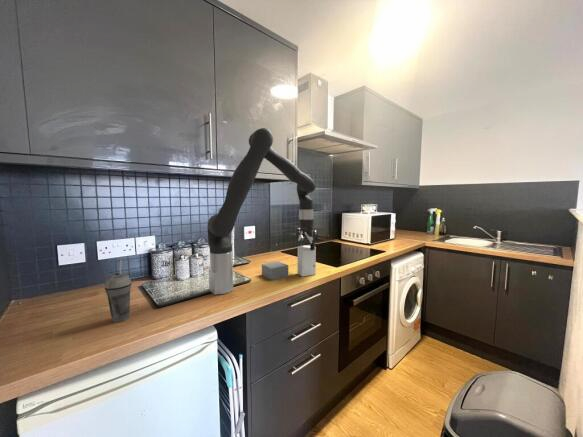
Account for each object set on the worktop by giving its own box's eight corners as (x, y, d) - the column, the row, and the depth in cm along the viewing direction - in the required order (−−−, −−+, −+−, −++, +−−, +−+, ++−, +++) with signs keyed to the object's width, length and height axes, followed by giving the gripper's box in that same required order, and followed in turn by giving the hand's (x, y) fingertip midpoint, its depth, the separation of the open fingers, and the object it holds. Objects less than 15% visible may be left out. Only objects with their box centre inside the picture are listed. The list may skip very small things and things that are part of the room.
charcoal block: (271, 280, 114) (271, 268, 114) (261, 275, 122) (261, 264, 122) (288, 276, 120) (288, 265, 120) (277, 271, 128) (277, 261, 128)
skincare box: (302, 276, 119) (301, 248, 117) (296, 273, 124) (296, 246, 123) (316, 274, 122) (316, 246, 121) (310, 271, 128) (310, 244, 126)
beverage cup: (105, 319, 78) (101, 260, 76) (131, 311, 83) (127, 256, 82) (108, 327, 73) (103, 264, 71) (136, 318, 78) (132, 260, 76)
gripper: (291, 217, 124) (292, 248, 125) (310, 219, 113) (311, 252, 114) (302, 217, 129) (302, 246, 130) (321, 218, 118) (321, 250, 119)
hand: (306, 249), depth 122 cm, fingers open, 8 cm apart
